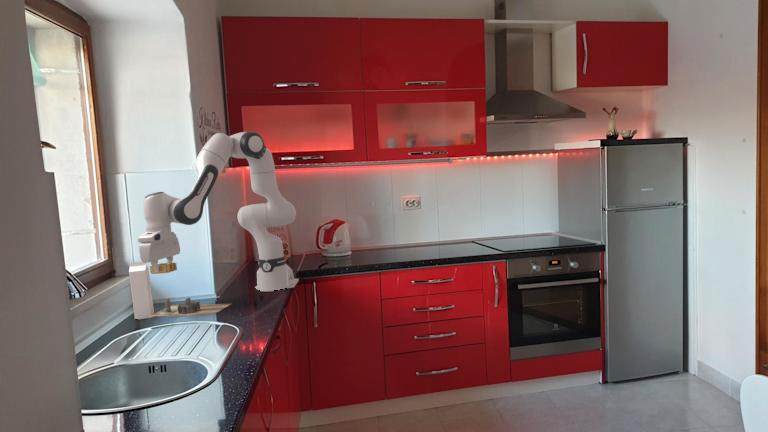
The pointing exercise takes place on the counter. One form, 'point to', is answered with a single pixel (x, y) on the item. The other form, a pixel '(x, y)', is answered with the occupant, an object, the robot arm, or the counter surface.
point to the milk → (141, 290)
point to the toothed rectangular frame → (164, 268)
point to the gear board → (189, 309)
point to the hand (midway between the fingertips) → (163, 269)
